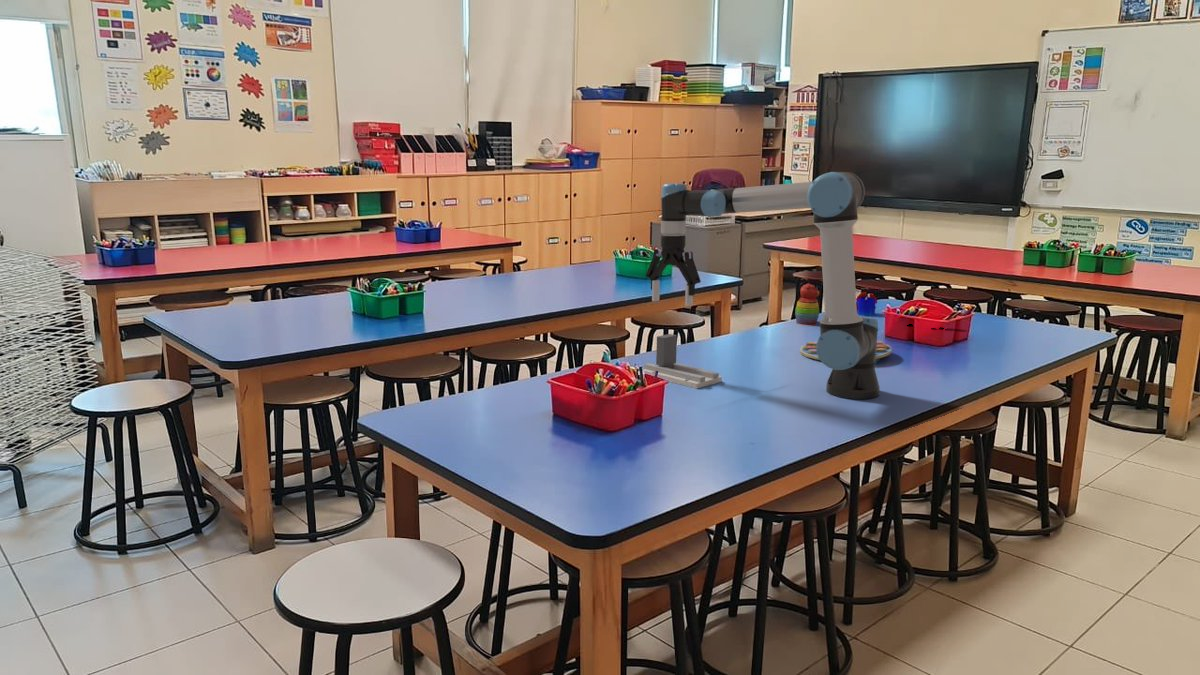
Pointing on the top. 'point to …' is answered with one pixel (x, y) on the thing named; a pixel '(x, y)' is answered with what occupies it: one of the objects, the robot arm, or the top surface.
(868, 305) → the fantasy tower
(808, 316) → the stacking bear
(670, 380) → the panel
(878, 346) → the shape sorting clock
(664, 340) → the fader
